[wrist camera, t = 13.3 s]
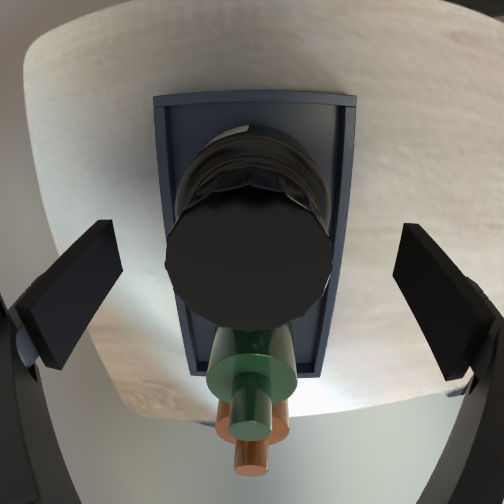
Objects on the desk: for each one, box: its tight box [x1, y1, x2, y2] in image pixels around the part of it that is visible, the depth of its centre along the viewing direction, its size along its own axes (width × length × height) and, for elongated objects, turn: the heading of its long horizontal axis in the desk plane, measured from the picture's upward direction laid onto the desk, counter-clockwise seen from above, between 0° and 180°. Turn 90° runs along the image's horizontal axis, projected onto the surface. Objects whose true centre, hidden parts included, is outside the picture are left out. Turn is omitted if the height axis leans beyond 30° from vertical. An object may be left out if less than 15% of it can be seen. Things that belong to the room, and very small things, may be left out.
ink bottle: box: [165, 125, 333, 332], centre depth 18 cm, size 10×9×12 cm
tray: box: [153, 90, 357, 378], centre depth 26 cm, size 27×14×2 cm, turn 0°
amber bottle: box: [215, 398, 290, 476], centre depth 24 cm, size 6×6×14 cm
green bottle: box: [206, 321, 298, 441], centre depth 21 cm, size 6×6×14 cm
